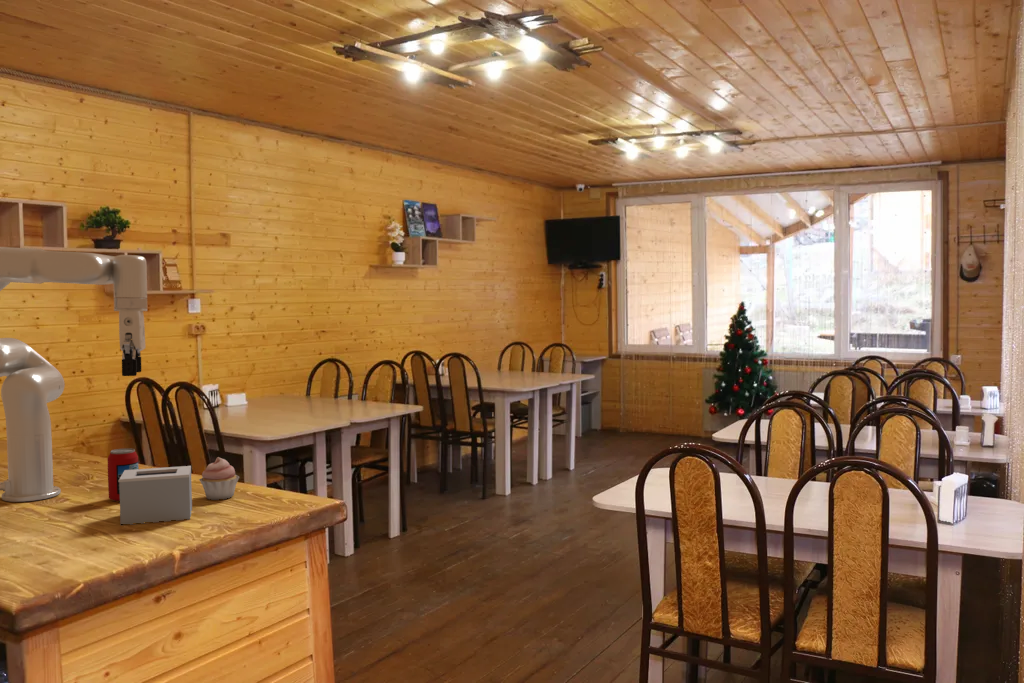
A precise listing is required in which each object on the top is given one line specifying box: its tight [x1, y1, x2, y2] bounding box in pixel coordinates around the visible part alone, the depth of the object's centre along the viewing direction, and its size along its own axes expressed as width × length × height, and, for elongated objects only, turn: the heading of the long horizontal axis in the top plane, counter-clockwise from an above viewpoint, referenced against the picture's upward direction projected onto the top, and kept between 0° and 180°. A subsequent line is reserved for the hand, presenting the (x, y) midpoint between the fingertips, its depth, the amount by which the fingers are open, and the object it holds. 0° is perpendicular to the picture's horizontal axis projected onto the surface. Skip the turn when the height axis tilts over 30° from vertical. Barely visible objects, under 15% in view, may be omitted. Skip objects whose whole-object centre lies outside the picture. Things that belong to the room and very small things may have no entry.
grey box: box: [119, 465, 193, 525], centre depth 183 cm, size 14×10×10 cm
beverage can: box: [107, 447, 139, 502], centre depth 198 cm, size 7×7×12 cm
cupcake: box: [198, 456, 240, 501], centre depth 200 cm, size 9×9×10 cm
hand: (132, 374), depth 203 cm, fingers open, 9 cm apart
